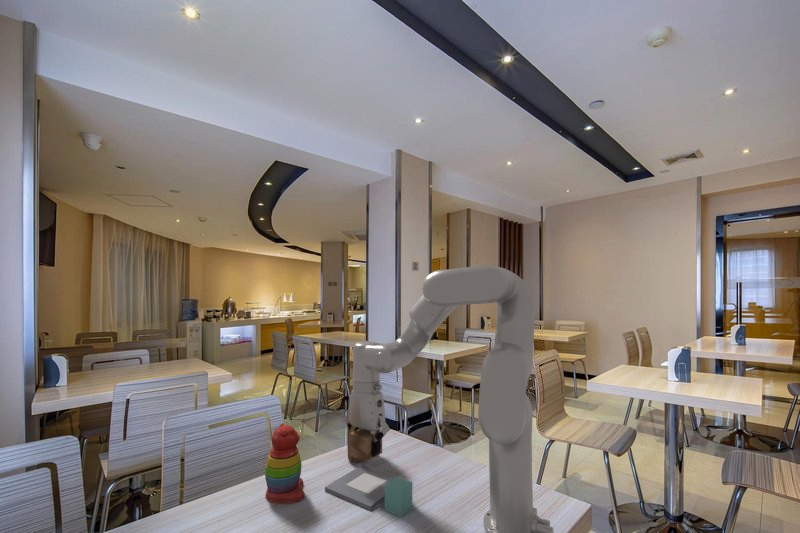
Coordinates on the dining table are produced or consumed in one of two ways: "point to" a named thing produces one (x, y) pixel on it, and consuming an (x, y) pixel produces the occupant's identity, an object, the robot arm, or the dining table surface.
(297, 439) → the stacking bear
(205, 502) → the dining table surface
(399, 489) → the teal block
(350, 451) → the walnut cube
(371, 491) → the plate
